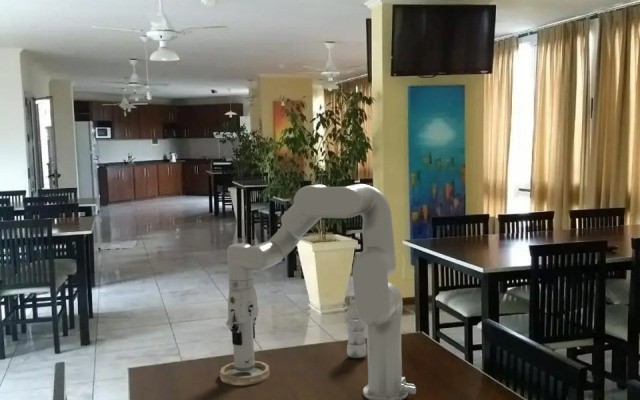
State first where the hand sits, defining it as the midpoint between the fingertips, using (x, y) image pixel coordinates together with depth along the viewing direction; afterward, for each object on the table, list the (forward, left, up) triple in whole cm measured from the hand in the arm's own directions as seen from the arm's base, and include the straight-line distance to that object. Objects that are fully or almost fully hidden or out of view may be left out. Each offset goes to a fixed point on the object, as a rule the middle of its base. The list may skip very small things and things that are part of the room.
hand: (243, 340), depth 191 cm
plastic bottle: (-25, -29, -11) cm, 40 cm away
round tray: (0, 0, -11) cm, 11 cm away
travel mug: (0, 0, -9) cm, 9 cm away
